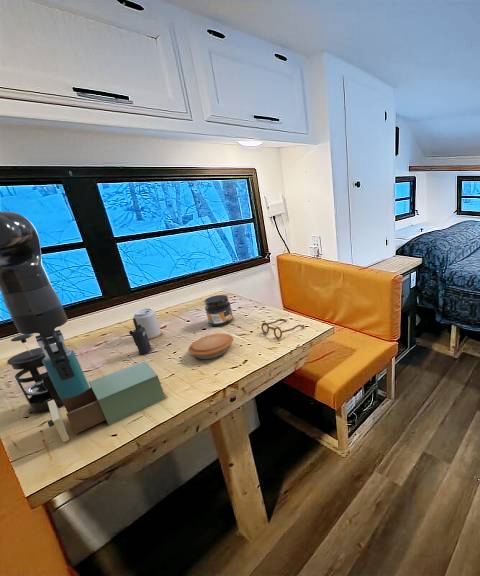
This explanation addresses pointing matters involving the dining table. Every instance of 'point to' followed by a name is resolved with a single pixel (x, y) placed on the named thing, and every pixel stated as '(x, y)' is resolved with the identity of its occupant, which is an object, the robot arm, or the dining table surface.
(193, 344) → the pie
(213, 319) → the supplement container
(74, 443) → the dining table surface
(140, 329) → the two-way radio
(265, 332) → the glasses
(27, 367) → the french press
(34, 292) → the robot arm
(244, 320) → the dining table surface
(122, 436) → the dining table surface
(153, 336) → the can
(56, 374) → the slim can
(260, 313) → the dining table surface
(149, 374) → the cabinet
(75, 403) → the drawer
